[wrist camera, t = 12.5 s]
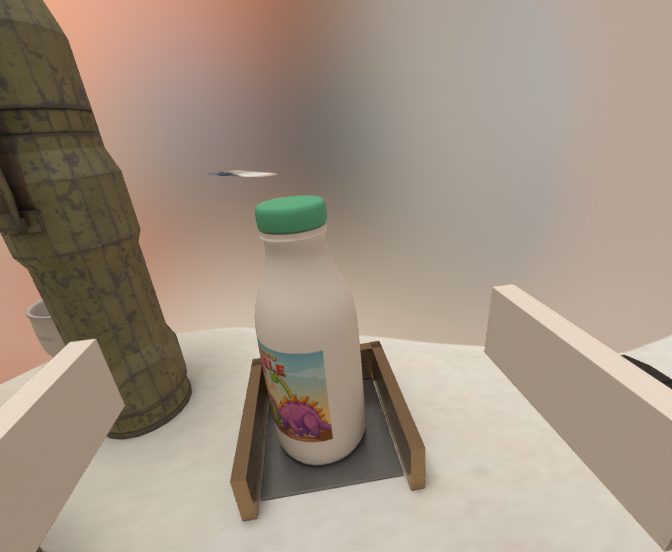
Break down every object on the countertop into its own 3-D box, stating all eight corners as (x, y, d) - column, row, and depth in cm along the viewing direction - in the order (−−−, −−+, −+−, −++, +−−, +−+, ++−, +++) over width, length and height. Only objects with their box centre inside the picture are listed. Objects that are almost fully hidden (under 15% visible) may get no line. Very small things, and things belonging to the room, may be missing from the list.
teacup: (71, 338, 49) (48, 289, 46) (151, 320, 52) (134, 273, 49) (24, 402, 37) (-12, 341, 33) (132, 373, 40) (108, 315, 36)
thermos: (204, 361, 40) (98, 9, 27) (174, 442, 30) (-29, -81, 16) (128, 374, 40) (-22, 15, 26) (69, 462, 29) (-241, -75, 15)
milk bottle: (332, 385, 34) (308, 187, 26) (384, 431, 28) (374, 194, 20) (263, 425, 30) (211, 205, 22) (308, 489, 24) (259, 221, 16)
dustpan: (424, 487, 24) (426, 402, 21) (242, 520, 23) (215, 437, 20) (376, 360, 38) (372, 297, 35) (261, 377, 37) (247, 314, 34)
